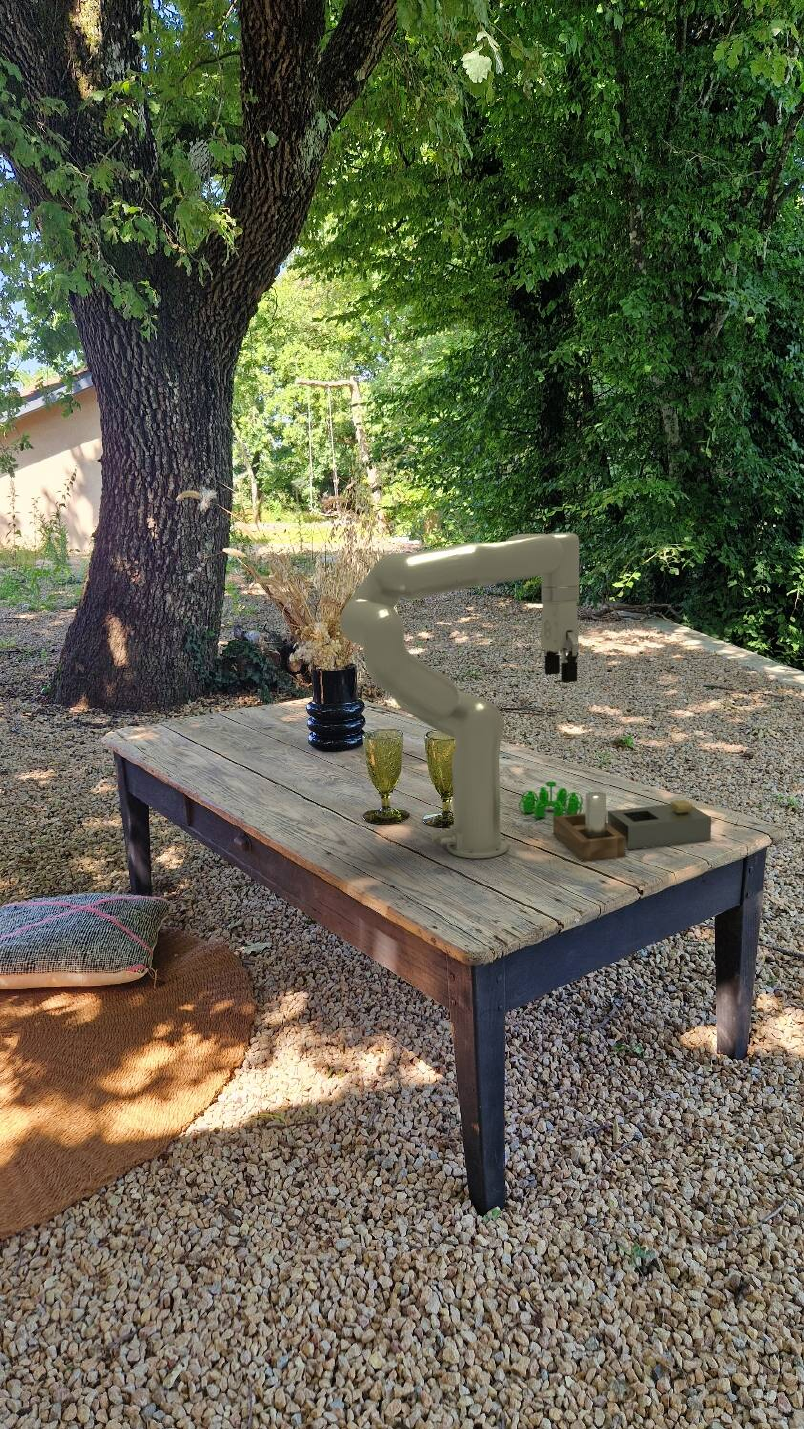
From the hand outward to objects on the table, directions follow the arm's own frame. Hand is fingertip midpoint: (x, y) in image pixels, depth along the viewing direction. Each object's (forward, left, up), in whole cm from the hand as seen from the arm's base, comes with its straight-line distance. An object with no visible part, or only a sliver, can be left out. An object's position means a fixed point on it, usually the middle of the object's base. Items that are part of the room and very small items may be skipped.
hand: (560, 677), depth 187 cm
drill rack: (+2, -10, -33) cm, 35 cm away
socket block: (+18, -10, -33) cm, 39 cm away
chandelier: (+2, +13, -34) cm, 36 cm away
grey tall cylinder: (+2, -14, -33) cm, 36 cm away
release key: (+23, -10, -33) cm, 41 cm away
